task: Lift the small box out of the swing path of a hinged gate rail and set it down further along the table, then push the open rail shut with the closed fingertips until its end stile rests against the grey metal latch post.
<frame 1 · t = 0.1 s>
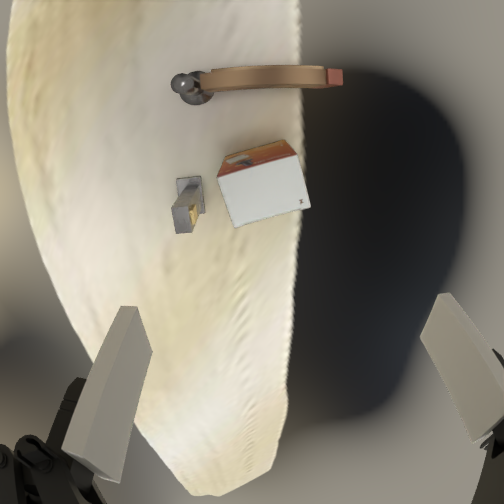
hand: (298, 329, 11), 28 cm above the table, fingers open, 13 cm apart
latch post: (194, 195, 37), on the table
pivot post: (197, 88, 30), on the table
gate: (268, 77, 26), point 4 cm above the table, hinge at 90.0°
small box: (260, 167, 36), on the table
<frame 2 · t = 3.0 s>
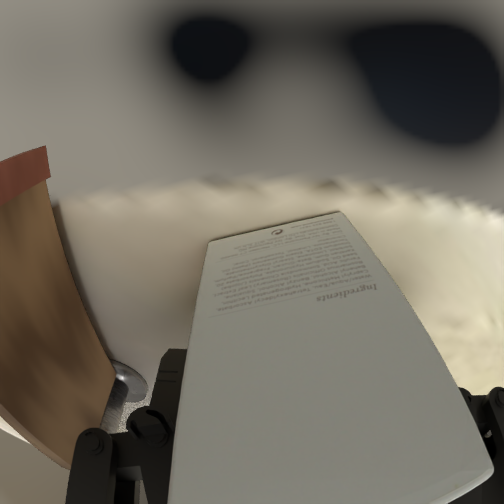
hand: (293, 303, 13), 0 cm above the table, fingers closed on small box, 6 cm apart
pivot post: (117, 379, 16), on the table
gate: (23, 338, 8), point 4 cm above the table, hinge at 90.0°
small box: (291, 297, 13), on the table, touching gripper
when the fingers open (1 cm above the table, at t = 7.5 s): small box drops 1 cm, on the table.
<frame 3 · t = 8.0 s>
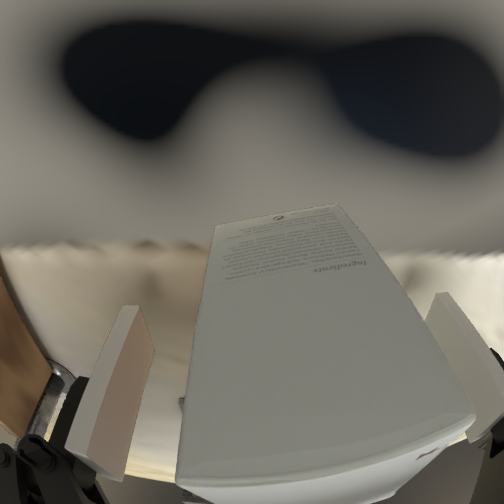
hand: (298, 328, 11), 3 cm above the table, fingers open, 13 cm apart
latch post: (213, 406, 20), on the table
pivot post: (57, 374, 19), on the table
small box: (288, 282, 14), on the table
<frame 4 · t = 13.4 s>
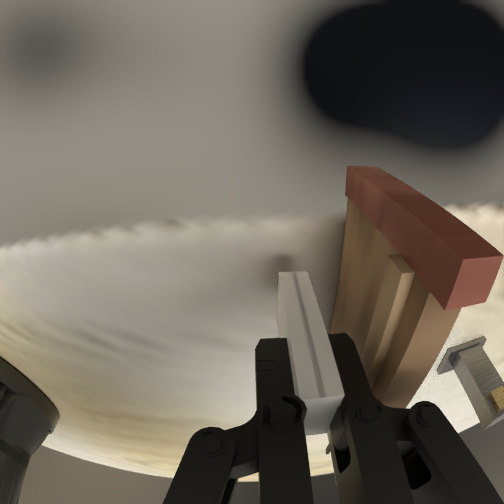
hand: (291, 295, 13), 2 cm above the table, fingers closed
latch post: (463, 350, 20), on the table
gate: (368, 339, 12), point 5 cm above the table, hinge at 86.7°, touching gripper
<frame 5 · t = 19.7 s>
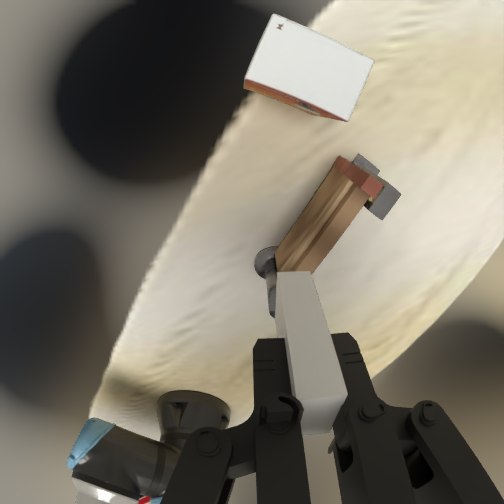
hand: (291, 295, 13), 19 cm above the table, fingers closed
latch post: (353, 176, 30), on the table
pivot post: (272, 262, 35), on the table
gate: (318, 222, 28), point 5 cm above the table, hinge at 1.1°, touching latch post
small box: (289, 78, 25), on the table
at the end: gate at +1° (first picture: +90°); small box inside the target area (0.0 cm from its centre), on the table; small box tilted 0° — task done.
